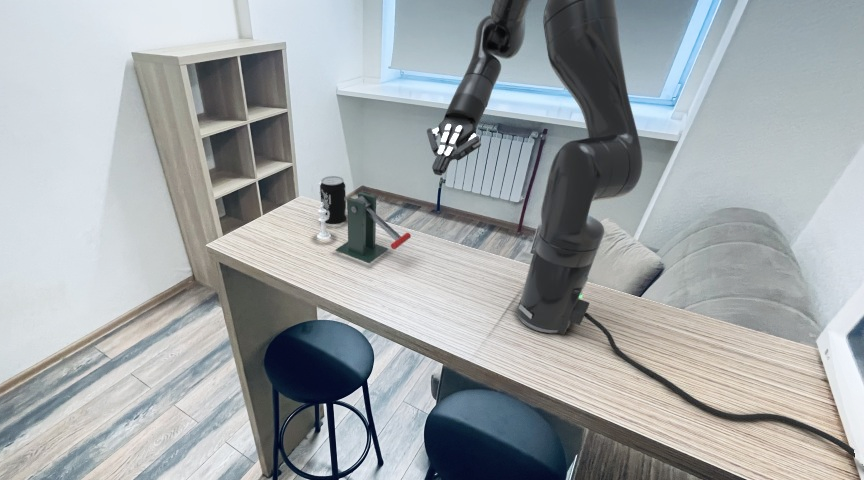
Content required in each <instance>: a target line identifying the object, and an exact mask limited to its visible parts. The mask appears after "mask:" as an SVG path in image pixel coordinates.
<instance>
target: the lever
mask: <svg viewBox="0 0 864 480" xmlns="http://www.w3.org/2000/svg"><path fill="white" fill-rule="evenodd" d="M355 199H356V200H360V201H363V202H366V214H367V215H368V216H369V217H371V218H372V219H373V220H374V221H375V222H376V225H378V226H379V227H380V228H381V229H382V230H384V231H385V232H386V233H387V234H388V235H389V236H390V237H391V238H392V239H393V240H394V241H393V242H391V243H390V248H391V249H392V250H397V249H398V248H399V247H401V246H402V245H403V244H405V243H406V242H407V241H408V240H410V239H411V237H412V236H411V235H412V234H411V233H410V232H405V233H403V234H402V235H400V234H399V233H398V232H397V231H396V230H394V229H393V228H392V227H391V226H390V225H389V224H388V223H387V222H386V221H385V220H384V219H382V217H380V215H378V214H377V212H376V213H375V212H374V211H372V210H371V209H370V208H369V207H370V205H371V203H370V202H369V201H368V200H366V199H365V198H364V197H363V196H361V197H359V198H358V197H357V198H355Z"/></svg>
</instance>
